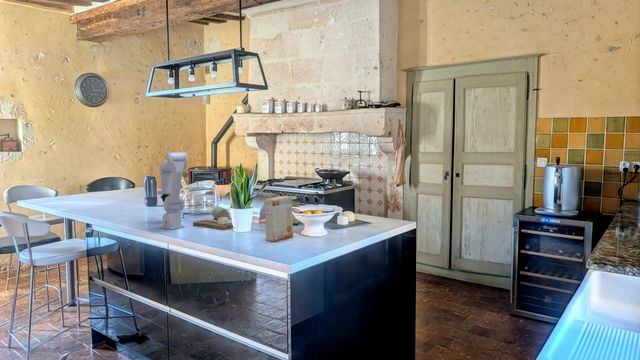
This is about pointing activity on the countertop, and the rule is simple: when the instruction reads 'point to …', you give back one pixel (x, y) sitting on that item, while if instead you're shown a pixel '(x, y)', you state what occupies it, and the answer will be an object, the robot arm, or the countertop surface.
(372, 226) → the countertop surface
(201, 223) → the fader console
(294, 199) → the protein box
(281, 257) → the countertop surface
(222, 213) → the ceramic mug
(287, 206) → the cracker box
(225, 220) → the fader knob
